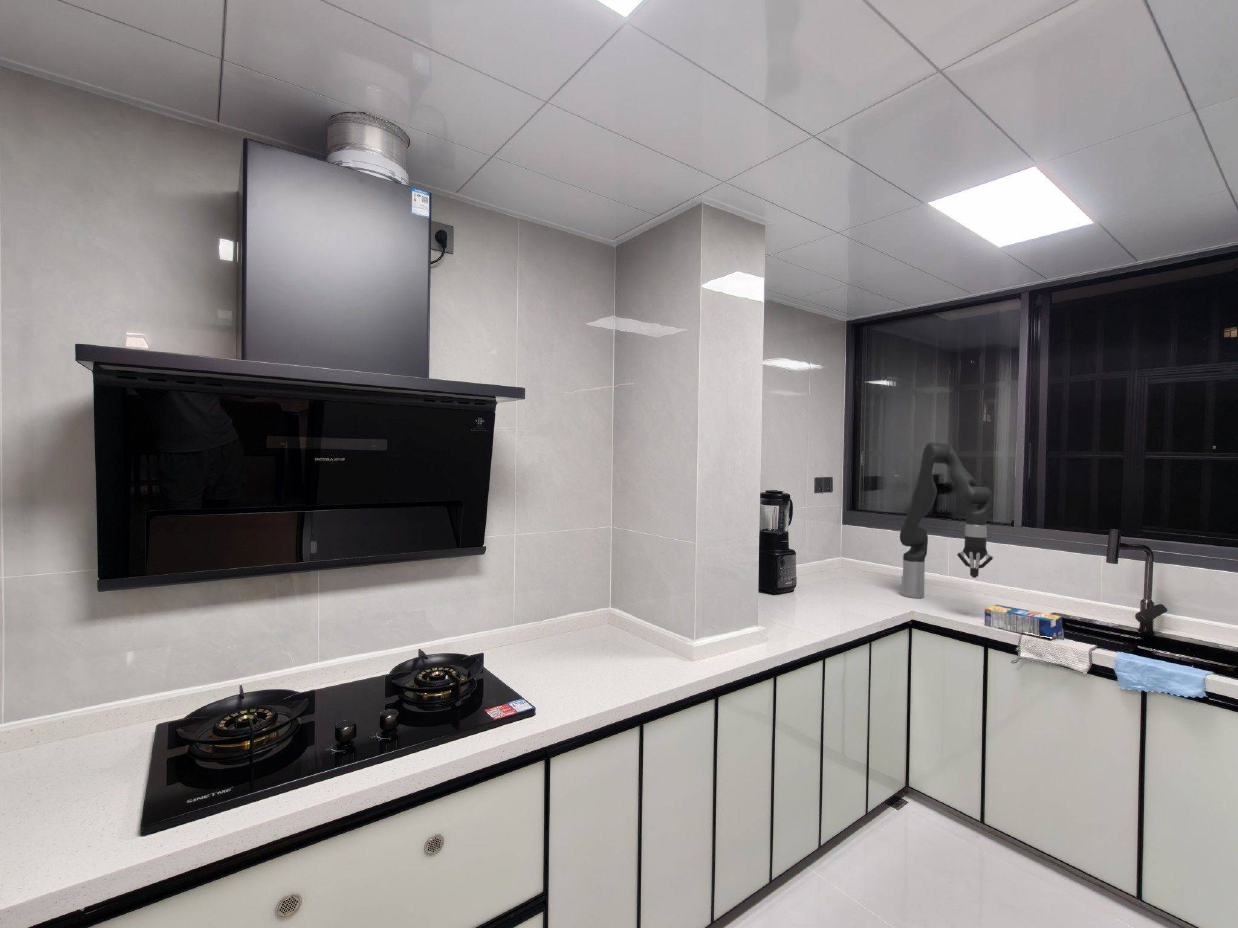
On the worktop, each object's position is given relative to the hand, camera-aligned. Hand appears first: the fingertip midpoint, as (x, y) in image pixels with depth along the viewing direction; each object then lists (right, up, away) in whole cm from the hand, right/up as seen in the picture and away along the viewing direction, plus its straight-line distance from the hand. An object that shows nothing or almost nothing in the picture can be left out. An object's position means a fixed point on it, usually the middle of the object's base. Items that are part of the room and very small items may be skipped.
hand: (974, 577), depth 230 cm
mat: (+15, -18, -11) cm, 26 cm away
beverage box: (+4, -14, -4) cm, 15 cm away
